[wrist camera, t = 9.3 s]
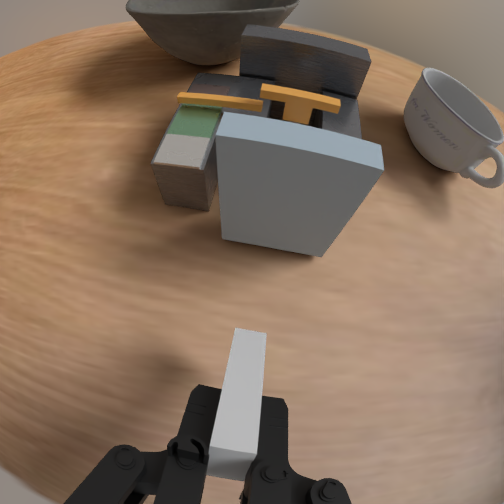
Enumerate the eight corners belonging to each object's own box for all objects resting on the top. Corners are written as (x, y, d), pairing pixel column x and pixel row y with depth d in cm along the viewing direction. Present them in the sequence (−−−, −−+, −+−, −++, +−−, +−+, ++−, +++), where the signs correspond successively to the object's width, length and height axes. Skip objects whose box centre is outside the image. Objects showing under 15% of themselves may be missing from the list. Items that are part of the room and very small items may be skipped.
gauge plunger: (326, 168, 23) (366, 72, 14) (321, 257, 20) (384, 170, 11) (243, 152, 23) (250, 47, 14) (222, 238, 20) (215, 134, 11)
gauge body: (340, 120, 26) (367, 49, 18) (340, 235, 21) (394, 161, 13) (209, 97, 26) (206, 21, 18) (165, 204, 21) (135, 117, 13)
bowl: (255, 115, 26) (264, 24, 17) (110, 83, 28) (90, 17, 18) (305, 45, 33) (317, -13, 23) (189, 23, 34) (187, -28, 25)
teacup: (383, 105, 28) (407, 54, 21) (450, 126, 29) (478, 85, 21) (416, 205, 23) (465, 152, 16) (487, 218, 24) (533, 180, 16)
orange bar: (331, 122, 19) (340, 99, 17) (331, 130, 18) (340, 106, 16) (181, 99, 19) (178, 75, 17) (178, 106, 19) (174, 81, 16)
